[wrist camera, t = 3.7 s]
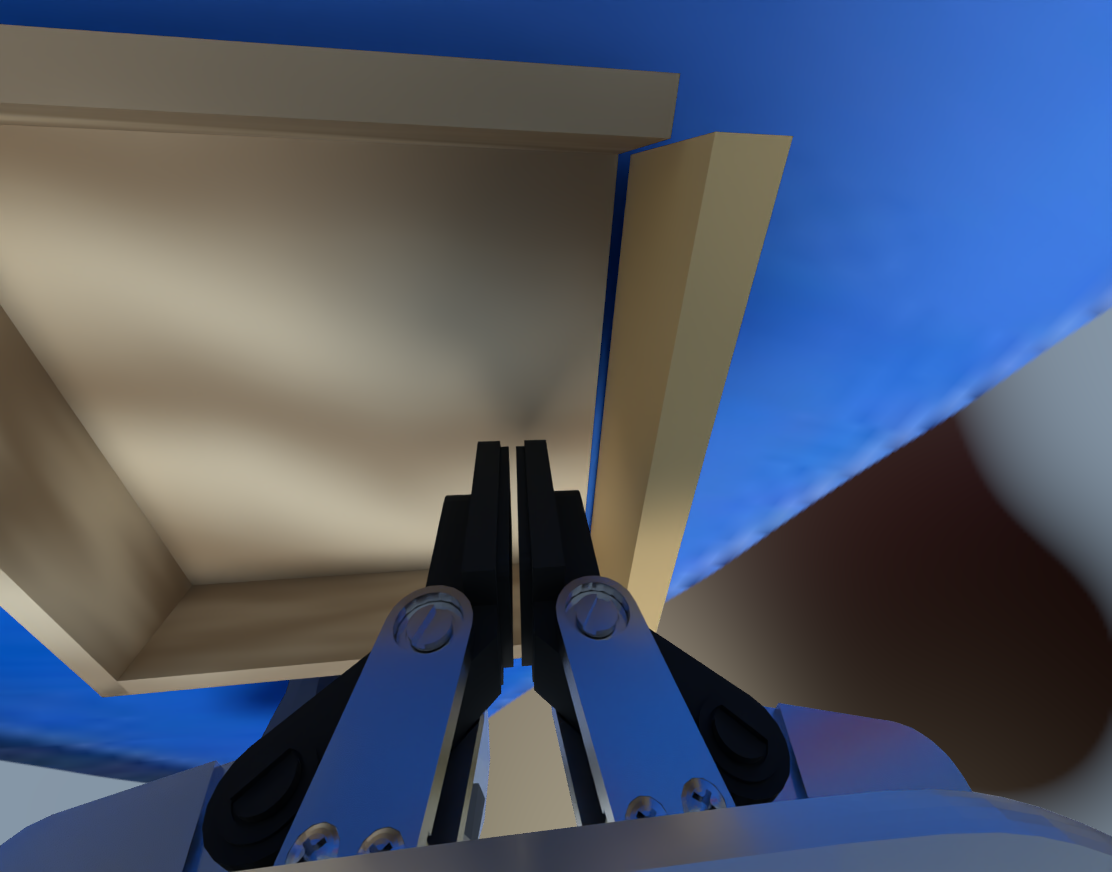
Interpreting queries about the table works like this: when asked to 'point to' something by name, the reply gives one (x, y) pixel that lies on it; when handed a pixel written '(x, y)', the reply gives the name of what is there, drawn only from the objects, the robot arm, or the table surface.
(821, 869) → the robot arm
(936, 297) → the table surface
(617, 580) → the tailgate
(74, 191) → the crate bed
